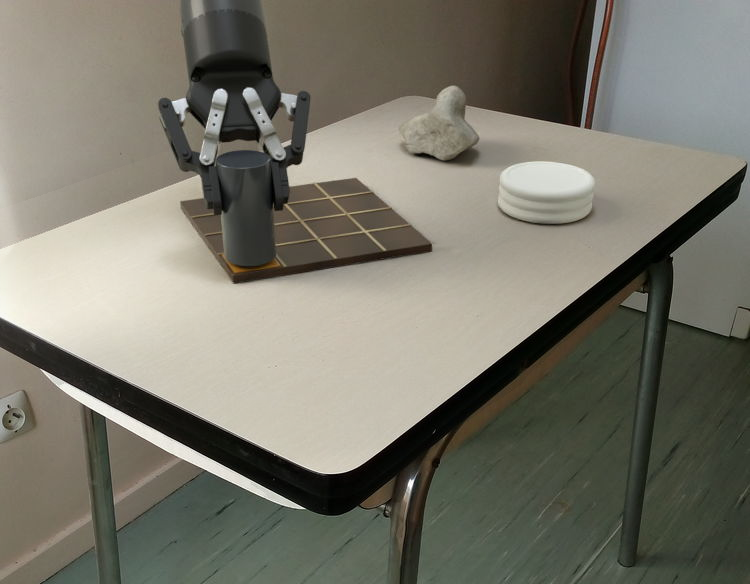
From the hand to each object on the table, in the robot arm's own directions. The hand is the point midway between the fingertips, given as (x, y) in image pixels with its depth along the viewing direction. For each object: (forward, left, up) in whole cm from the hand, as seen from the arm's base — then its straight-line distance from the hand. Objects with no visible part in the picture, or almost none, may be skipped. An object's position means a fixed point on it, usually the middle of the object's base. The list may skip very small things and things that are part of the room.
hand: (249, 208), depth 89 cm
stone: (+30, +25, -7) cm, 40 cm away
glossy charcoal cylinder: (0, +2, -5) cm, 5 cm away
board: (+8, +9, -6) cm, 14 cm away
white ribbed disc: (+34, +5, -7) cm, 35 cm away
